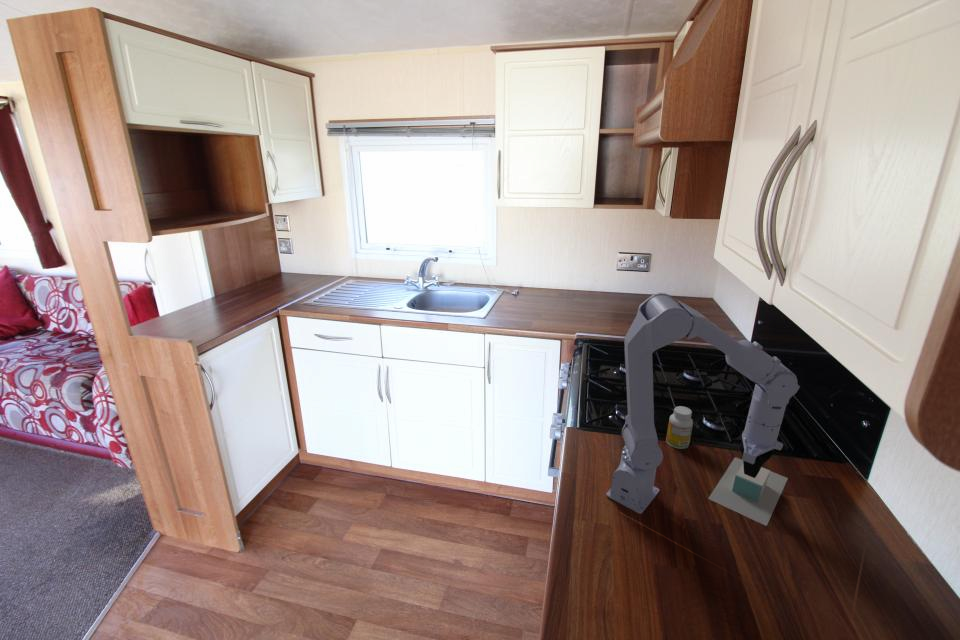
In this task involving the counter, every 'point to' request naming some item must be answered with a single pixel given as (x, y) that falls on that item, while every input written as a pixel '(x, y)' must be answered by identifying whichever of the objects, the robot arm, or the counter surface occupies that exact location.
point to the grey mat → (742, 504)
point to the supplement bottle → (680, 428)
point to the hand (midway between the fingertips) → (750, 474)
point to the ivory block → (751, 484)
